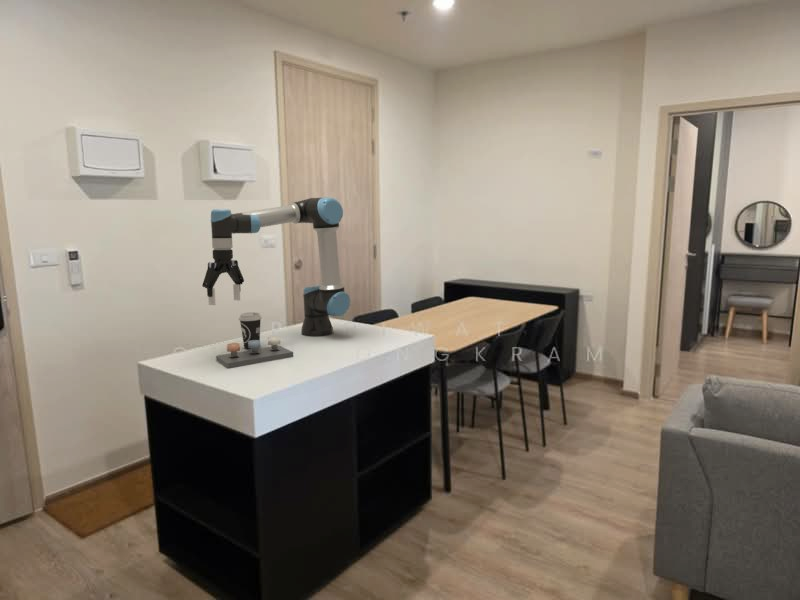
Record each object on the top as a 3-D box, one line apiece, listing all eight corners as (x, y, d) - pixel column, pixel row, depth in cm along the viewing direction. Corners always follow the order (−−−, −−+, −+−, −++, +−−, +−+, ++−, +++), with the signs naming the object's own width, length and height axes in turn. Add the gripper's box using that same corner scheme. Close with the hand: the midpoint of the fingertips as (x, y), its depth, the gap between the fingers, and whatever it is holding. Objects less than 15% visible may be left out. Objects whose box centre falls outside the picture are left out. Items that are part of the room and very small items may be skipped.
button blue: (258, 349, 223) (257, 339, 222) (262, 351, 219) (262, 341, 218) (246, 351, 220) (246, 341, 219) (251, 353, 216) (250, 343, 216)
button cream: (277, 346, 228) (277, 336, 227) (282, 348, 224) (281, 338, 223) (266, 348, 225) (266, 337, 224) (271, 350, 221) (270, 340, 221)
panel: (279, 349, 234) (279, 345, 233) (293, 356, 222) (293, 351, 222) (216, 360, 218) (215, 355, 218) (227, 368, 207) (227, 363, 206)
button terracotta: (237, 352, 218) (237, 342, 217) (242, 355, 214) (241, 344, 213) (226, 354, 215) (225, 344, 215) (230, 357, 211) (229, 346, 211)
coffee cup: (257, 350, 232) (255, 316, 230) (236, 350, 234) (234, 315, 232) (266, 345, 241) (265, 312, 239) (247, 344, 243) (245, 311, 241)
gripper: (237, 247, 226) (239, 297, 229) (190, 250, 203) (193, 306, 207) (251, 247, 222) (253, 299, 226) (205, 251, 200) (208, 307, 203)
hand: (224, 302), depth 216 cm, fingers open, 13 cm apart
